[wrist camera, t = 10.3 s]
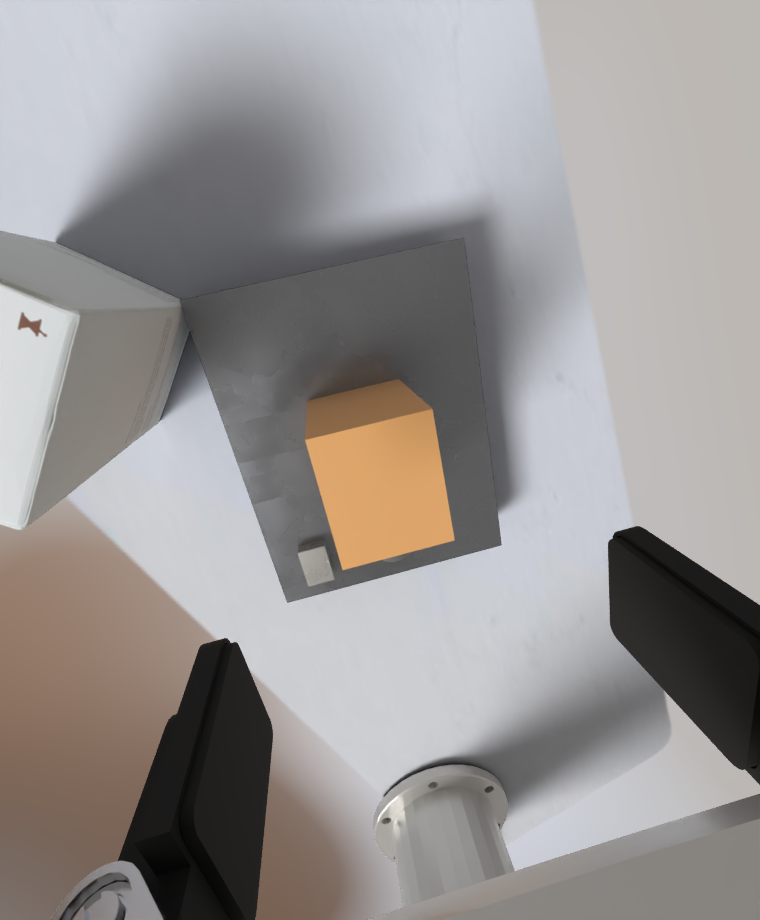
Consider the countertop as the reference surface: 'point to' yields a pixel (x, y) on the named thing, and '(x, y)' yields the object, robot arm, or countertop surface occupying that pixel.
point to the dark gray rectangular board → (339, 370)
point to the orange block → (378, 472)
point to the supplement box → (75, 369)
